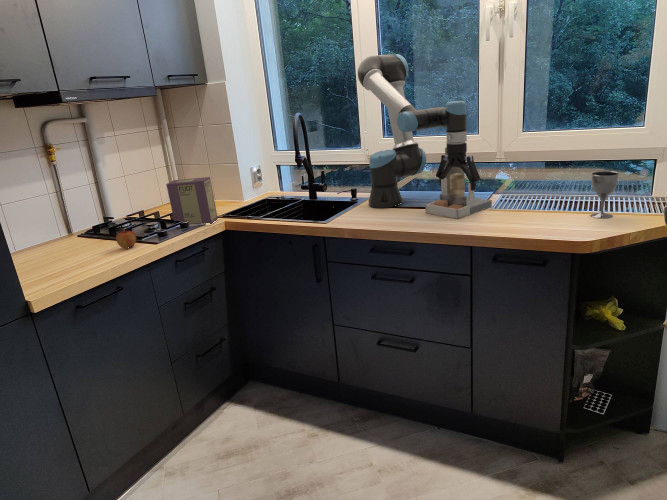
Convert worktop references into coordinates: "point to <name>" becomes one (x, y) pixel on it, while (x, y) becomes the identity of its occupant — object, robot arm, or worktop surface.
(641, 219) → the worktop surface
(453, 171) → the thermos bottle
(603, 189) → the wine glass
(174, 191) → the box
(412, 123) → the robot arm
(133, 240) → the apple
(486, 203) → the board
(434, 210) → the tray
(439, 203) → the tile
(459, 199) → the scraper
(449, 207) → the tile
